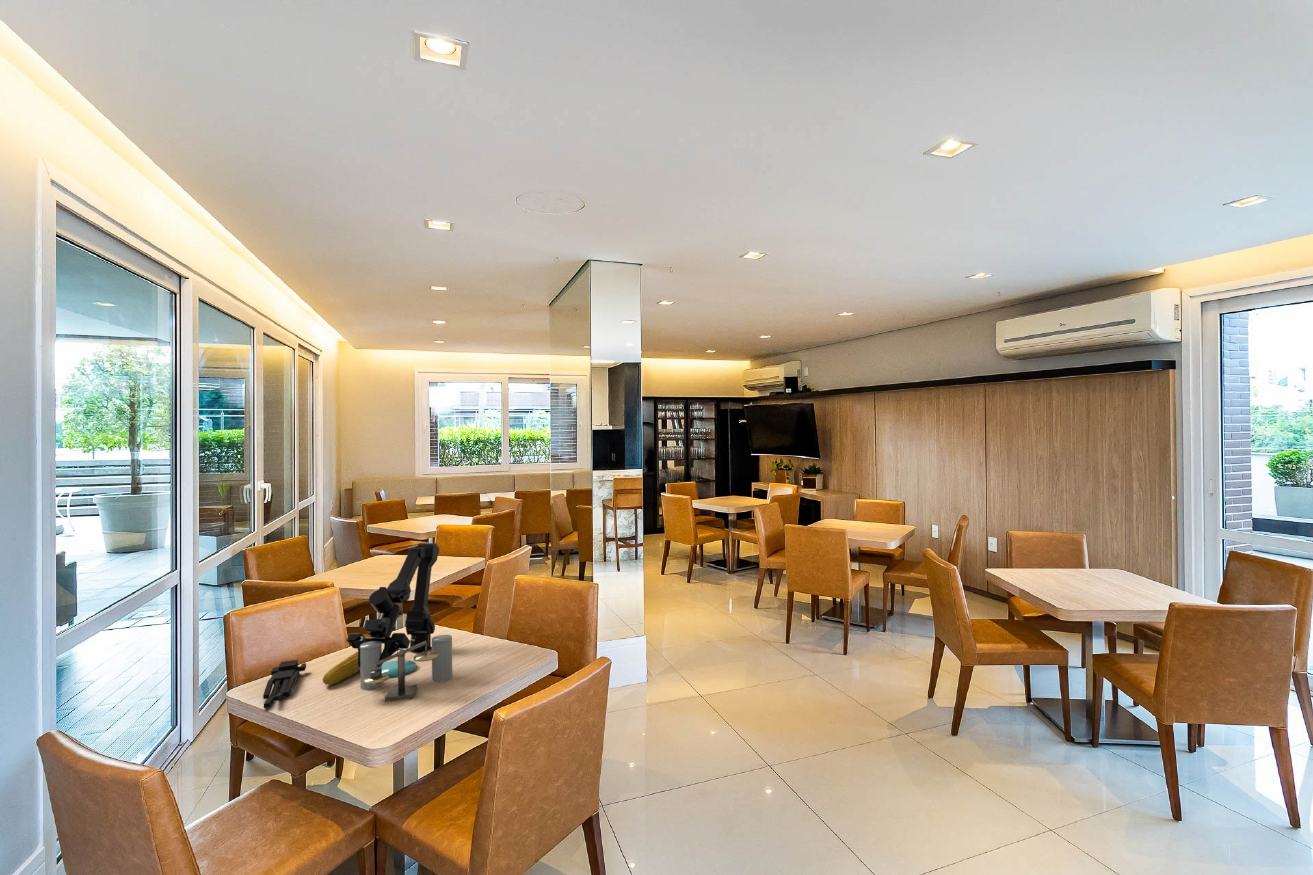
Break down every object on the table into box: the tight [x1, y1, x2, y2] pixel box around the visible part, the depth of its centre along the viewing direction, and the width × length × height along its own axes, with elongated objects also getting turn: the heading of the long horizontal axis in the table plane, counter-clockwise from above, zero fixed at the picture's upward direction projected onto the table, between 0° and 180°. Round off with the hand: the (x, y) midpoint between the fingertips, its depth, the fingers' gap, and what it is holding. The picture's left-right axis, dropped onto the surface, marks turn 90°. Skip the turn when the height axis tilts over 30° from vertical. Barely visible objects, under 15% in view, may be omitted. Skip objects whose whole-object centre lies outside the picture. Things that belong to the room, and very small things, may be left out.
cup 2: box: [431, 634, 453, 683], centre depth 192 cm, size 6×6×13 cm
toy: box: [262, 659, 307, 709], centre depth 184 cm, size 10×5×30 cm
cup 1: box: [359, 641, 383, 690], centre depth 187 cm, size 6×6×13 cm
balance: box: [363, 641, 438, 703], centre depth 179 cm, size 21×8×15 cm, turn 104°
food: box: [322, 651, 360, 686], centre depth 195 cm, size 21×6×6 cm, turn 175°
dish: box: [382, 659, 417, 679], centre depth 199 cm, size 13×13×1 cm
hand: (368, 666), depth 185 cm, fingers closed on cup 1, 6 cm apart
